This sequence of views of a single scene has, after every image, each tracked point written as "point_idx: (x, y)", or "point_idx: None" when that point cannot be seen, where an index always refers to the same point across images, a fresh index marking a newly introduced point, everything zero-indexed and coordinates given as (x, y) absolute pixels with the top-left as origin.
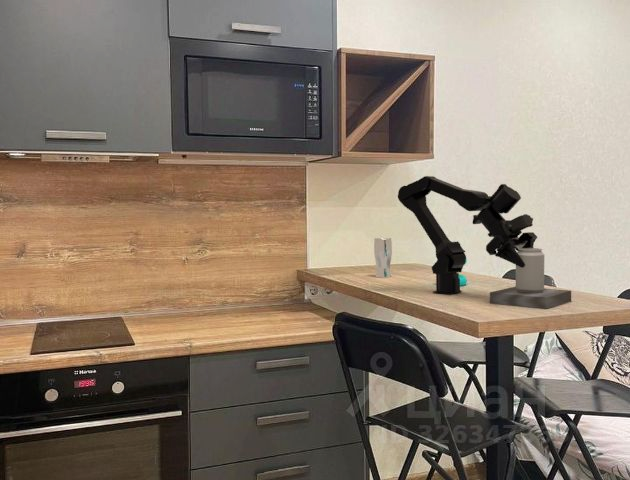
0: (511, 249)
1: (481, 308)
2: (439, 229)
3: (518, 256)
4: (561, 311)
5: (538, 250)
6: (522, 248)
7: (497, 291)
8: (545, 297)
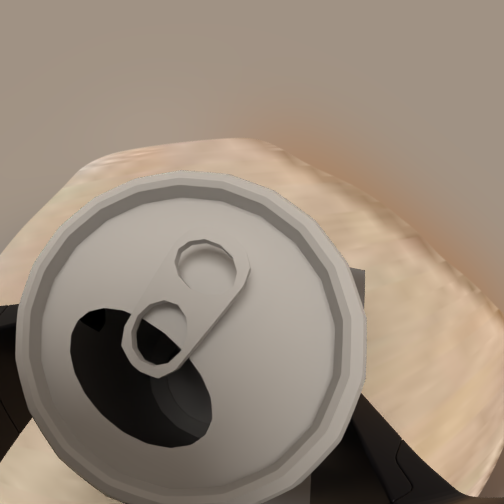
0: (460, 492)
1: (425, 455)
2: None
3: (380, 426)
4: (358, 243)
5: (262, 194)
6: (75, 456)
7: (288, 496)
8: (363, 273)
